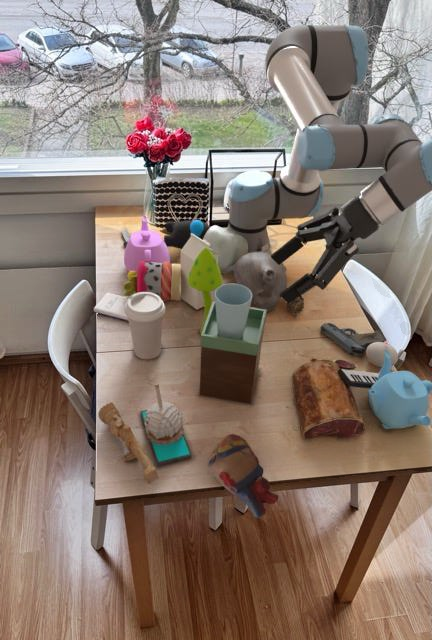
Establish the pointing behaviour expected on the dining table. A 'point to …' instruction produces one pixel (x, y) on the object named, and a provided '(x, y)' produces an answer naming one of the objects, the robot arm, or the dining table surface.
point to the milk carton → (187, 260)
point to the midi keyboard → (358, 378)
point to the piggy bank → (260, 278)
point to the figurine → (127, 440)
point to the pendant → (296, 305)
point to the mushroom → (205, 278)
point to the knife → (125, 236)
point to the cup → (232, 309)
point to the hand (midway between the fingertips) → (279, 278)
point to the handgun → (352, 338)
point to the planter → (226, 246)
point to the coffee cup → (145, 323)
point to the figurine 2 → (380, 353)
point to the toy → (184, 232)
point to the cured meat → (326, 400)
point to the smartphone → (169, 449)
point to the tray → (243, 345)
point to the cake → (155, 280)
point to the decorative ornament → (163, 422)
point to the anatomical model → (241, 473)
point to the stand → (228, 374)
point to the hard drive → (112, 306)
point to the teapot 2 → (399, 397)
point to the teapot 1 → (145, 248)
